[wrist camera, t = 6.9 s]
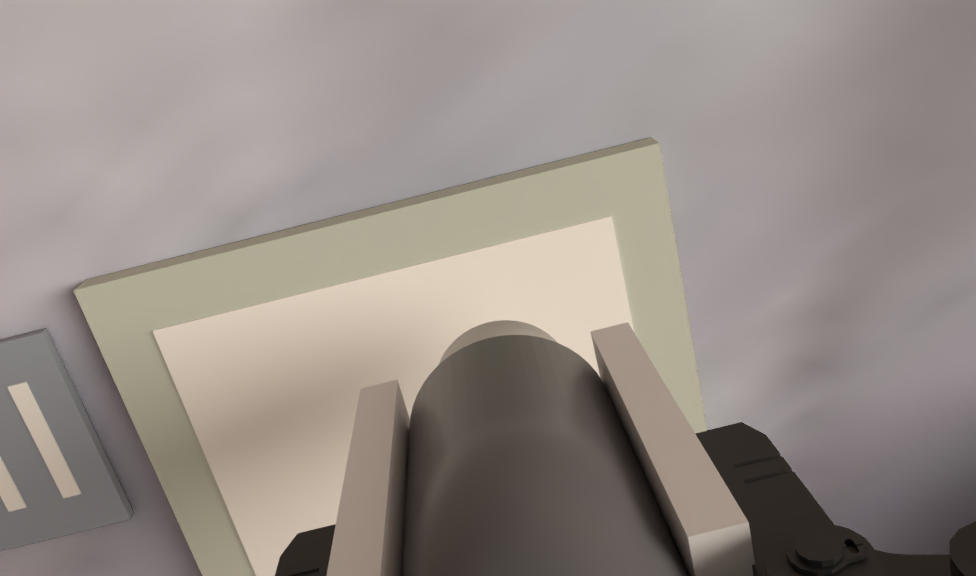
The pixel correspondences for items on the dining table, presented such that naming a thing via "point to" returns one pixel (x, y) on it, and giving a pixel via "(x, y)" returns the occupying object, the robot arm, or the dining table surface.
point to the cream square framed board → (372, 331)
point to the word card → (49, 450)
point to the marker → (525, 468)
